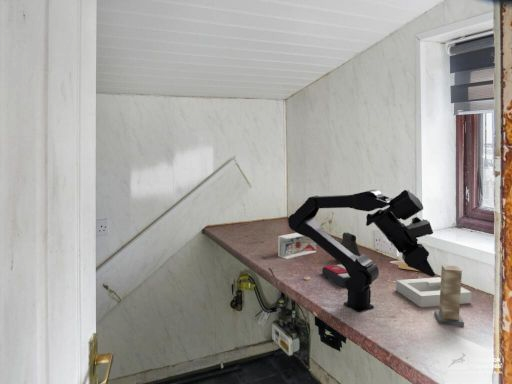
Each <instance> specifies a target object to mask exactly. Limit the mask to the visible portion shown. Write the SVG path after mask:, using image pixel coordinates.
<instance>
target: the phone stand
mask: <svg viewBox="0 0 512 384" xmlns="http://www.w3.org/2000/svg"><path fill="white" fill-rule="evenodd" d="M340 244H341V245H342V246H344V247H345V248H346V249H348V250H349V251H350V252H351V253H353V254H354V255H356V256H361V254H360V251H359V247H358V244H357V237H356V235H355V234H352V233H349V232H344V233H343V234H342V240H341V243H340Z"/></svg>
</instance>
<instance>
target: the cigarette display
mask: <svg viewBox="0 0 512 384" xmlns="http://www.w3.org/2000/svg"><path fill="white" fill-rule="evenodd" d="M315 253H317V244H316V243H315V242H314V241H313V240H312V239H310V238H309V237H306V236H303V235H300V234H298V233H296V232H294V233H289V234H283V235H282V234H281V235H278V236H277V256H278V257H280V258H282V259H285V260H288V259H293V258H297V257H302V256H306V255H310V254H315Z"/></svg>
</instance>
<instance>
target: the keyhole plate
mask: <svg viewBox="0 0 512 384" xmlns="http://www.w3.org/2000/svg"><path fill="white" fill-rule="evenodd" d="M395 284H396V285H395V291H396V292H397V293H399V294H401V295H402V296H404V297H405V298H406V299H408V300H410V301H411V302H412V303H414V304H415V305H417V306H418V307H419V308H426V307H428V308H429V307H439V306H440V288H441V276H438V277H422V278H413V279H412V278H411V279H408V278H407V279H398V280H396V283H395ZM471 303H472V291H470V290H468V289H466V288H465V287H463V286H461V293H460V305H463V304H471Z"/></svg>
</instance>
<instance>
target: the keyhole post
mask: <svg viewBox="0 0 512 384" xmlns="http://www.w3.org/2000/svg"><path fill="white" fill-rule="evenodd" d="M462 272H463V270H462V269H461V268H460V267H459V266H458V265H446V264H441V273H440V275H441V276H440V277H441V288H440V306H438V307H439V310H436V309H435V310H434V314H433V315H434V316H435V318H436V320H437V322H438V324H439V325H447V326H455V327H456V326H457V327H464V326H465V322H464V320H463V318H462V317H461V316H460V308H461V307H460V306H461V304H460V293H461V287H462V277H463V276H462V274H463V273H462Z"/></svg>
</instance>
